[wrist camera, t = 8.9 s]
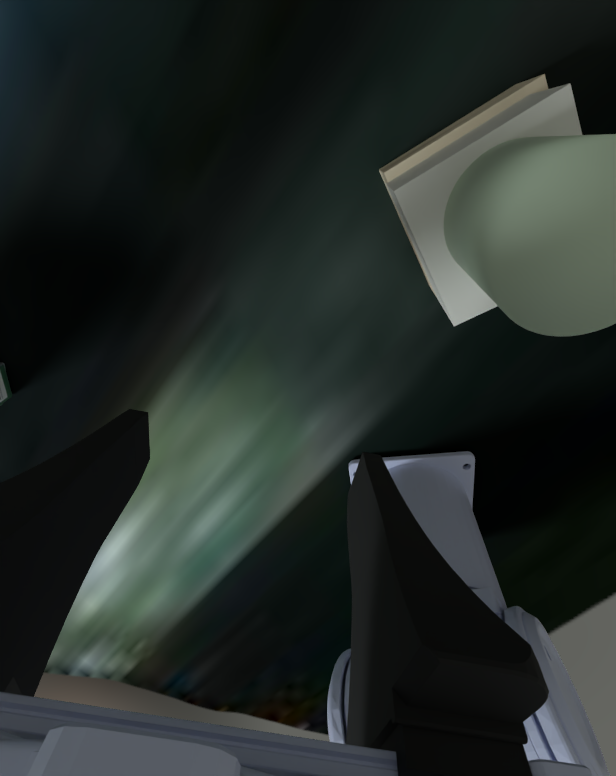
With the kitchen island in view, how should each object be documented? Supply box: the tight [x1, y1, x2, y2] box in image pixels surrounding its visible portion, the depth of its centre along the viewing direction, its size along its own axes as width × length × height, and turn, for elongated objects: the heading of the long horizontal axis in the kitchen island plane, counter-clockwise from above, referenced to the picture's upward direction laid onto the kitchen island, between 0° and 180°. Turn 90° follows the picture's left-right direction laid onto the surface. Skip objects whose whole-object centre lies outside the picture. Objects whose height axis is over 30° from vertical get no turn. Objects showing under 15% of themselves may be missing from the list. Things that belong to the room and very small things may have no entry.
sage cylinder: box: [444, 134, 616, 336], centre depth 11 cm, size 4×4×5 cm
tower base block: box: [379, 74, 548, 299], centre depth 17 cm, size 6×6×3 cm
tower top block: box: [386, 83, 582, 326], centre depth 15 cm, size 6×6×3 cm
